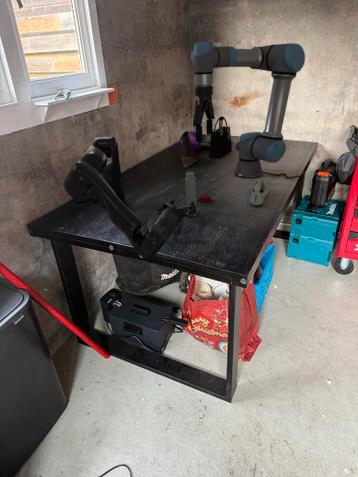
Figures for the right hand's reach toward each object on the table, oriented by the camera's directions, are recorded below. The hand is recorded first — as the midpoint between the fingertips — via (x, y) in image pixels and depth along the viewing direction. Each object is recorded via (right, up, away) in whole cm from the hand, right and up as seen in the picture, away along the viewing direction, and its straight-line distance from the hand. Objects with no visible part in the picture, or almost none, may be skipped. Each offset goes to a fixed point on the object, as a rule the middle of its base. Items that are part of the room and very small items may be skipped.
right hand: (204, 138), depth 146 cm
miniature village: (+45, +23, +94) cm, 107 cm away
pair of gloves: (+12, +27, +105) cm, 109 cm away
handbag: (+17, +13, +81) cm, 83 cm away
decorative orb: (-3, +16, +88) cm, 89 cm away
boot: (-4, +5, +68) cm, 69 cm away
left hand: (-10, -30, -13) cm, 34 cm away
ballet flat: (+27, -25, +14) cm, 40 cm away
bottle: (-6, -34, +2) cm, 34 cm away
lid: (+1, -24, +14) cm, 28 cm away
